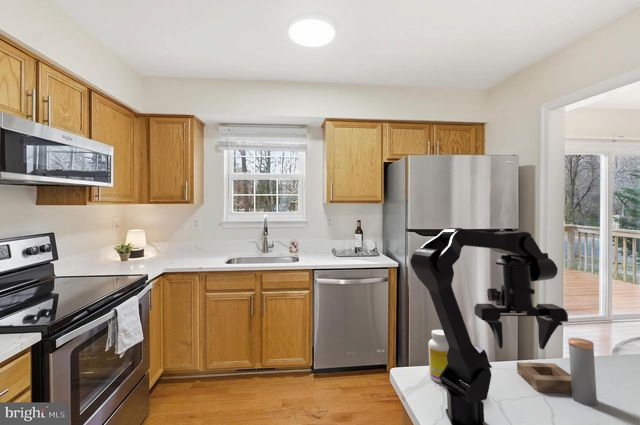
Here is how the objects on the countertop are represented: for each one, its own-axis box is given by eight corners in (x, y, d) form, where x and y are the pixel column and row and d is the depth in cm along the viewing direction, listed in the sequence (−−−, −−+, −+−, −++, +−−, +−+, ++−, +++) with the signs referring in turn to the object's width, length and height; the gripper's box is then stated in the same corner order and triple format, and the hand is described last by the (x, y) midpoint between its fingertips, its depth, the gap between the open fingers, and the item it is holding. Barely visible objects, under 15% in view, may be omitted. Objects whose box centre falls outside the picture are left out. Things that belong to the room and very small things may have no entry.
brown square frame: (536, 391, 79) (536, 379, 79) (517, 372, 89) (516, 362, 89) (579, 393, 77) (579, 381, 78) (555, 374, 87) (554, 363, 88)
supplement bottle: (457, 385, 83) (455, 336, 83) (431, 383, 84) (429, 335, 85) (452, 373, 89) (450, 328, 90) (428, 372, 91) (426, 327, 91)
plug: (575, 403, 73) (572, 343, 74) (568, 393, 78) (565, 336, 78) (601, 407, 71) (597, 346, 72) (592, 396, 76) (588, 339, 76)
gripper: (539, 277, 82) (543, 337, 81) (465, 277, 84) (468, 335, 84) (567, 285, 71) (572, 354, 70) (481, 285, 73) (484, 352, 72)
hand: (520, 348), depth 74 cm, fingers open, 9 cm apart
